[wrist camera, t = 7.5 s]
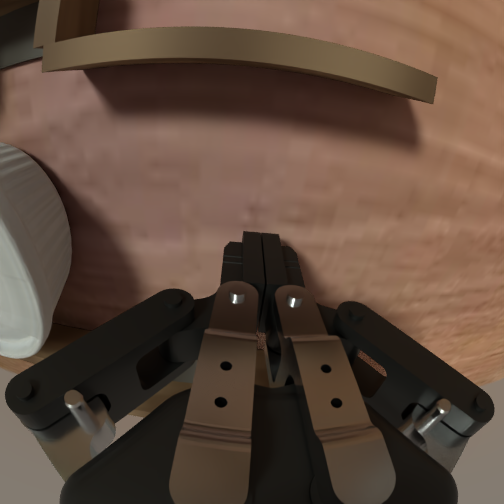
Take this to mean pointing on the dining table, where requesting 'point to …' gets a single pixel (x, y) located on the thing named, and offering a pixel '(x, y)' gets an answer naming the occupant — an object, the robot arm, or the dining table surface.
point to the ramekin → (29, 253)
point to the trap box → (183, 51)
